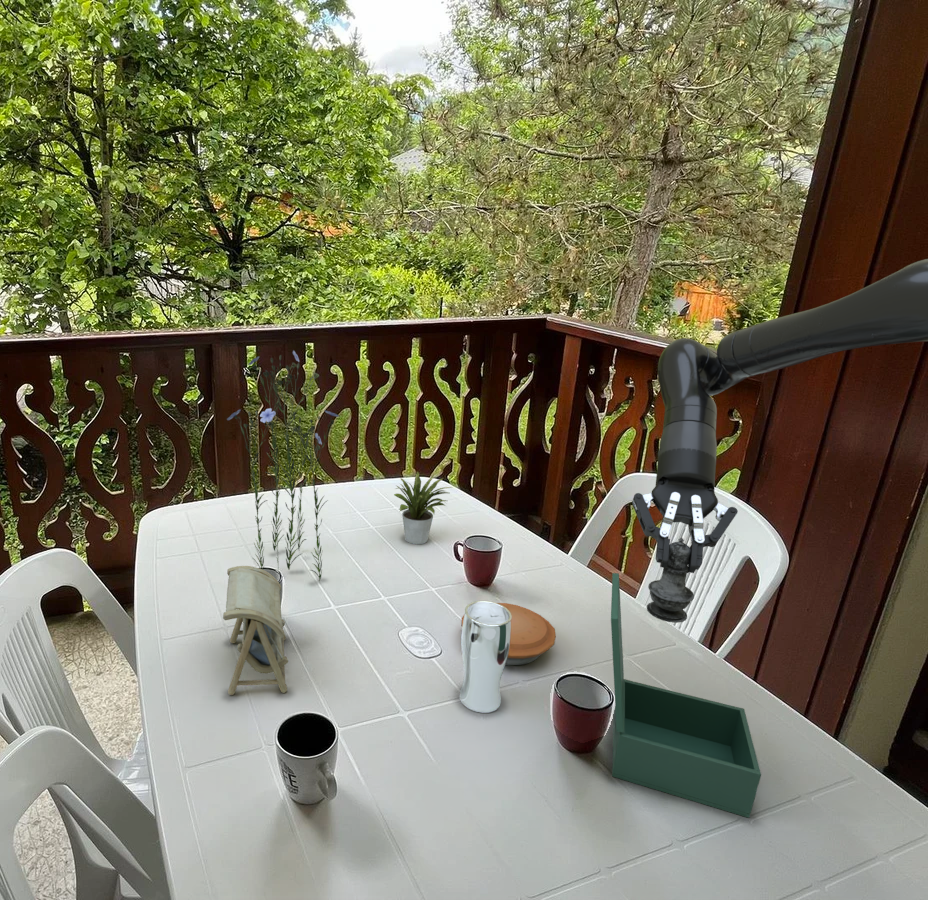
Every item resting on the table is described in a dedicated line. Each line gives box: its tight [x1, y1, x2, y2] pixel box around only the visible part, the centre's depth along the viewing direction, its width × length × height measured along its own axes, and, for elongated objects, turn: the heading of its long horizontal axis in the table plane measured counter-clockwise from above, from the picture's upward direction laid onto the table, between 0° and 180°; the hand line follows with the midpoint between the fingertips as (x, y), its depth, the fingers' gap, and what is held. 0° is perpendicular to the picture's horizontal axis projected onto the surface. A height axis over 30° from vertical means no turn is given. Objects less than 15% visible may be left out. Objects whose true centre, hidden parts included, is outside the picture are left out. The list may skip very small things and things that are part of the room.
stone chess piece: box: [646, 537, 695, 624], centre depth 90 cm, size 6×6×12 cm
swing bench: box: [222, 565, 289, 696], centre depth 101 cm, size 15×10×15 cm, turn 6°
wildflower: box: [226, 350, 340, 582], centre depth 128 cm, size 22×23×45 cm
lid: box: [610, 572, 625, 732], centre depth 83 cm, size 16×12×1 cm
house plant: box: [393, 471, 453, 545], centre depth 144 cm, size 14×14×16 cm
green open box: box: [611, 678, 762, 819], centre depth 83 cm, size 15×12×7 cm
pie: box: [461, 602, 557, 666], centre depth 108 cm, size 15×16×5 cm
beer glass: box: [459, 600, 512, 714], centre depth 94 cm, size 7×7×15 cm
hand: (678, 567), depth 88 cm, fingers closed on stone chess piece, 3 cm apart
